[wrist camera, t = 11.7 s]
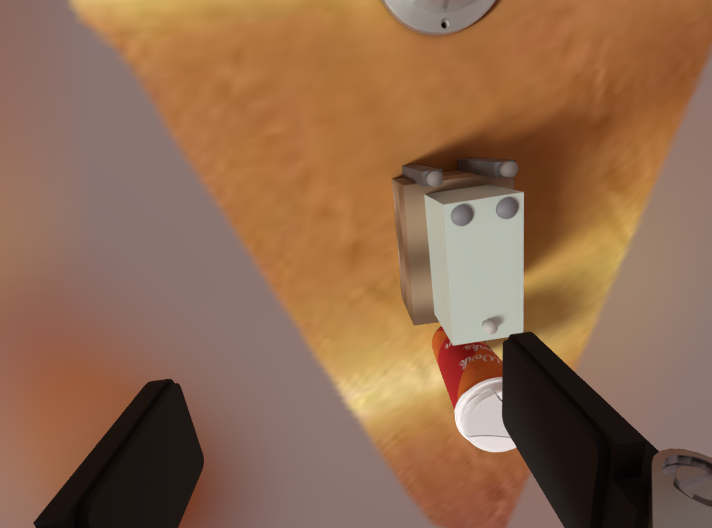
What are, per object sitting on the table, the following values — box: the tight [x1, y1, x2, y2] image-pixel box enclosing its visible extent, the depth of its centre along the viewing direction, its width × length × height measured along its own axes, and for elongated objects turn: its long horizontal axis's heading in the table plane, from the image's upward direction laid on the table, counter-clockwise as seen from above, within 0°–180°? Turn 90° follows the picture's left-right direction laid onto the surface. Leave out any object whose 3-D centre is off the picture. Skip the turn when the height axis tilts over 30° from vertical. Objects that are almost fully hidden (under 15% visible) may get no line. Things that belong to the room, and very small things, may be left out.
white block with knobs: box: [424, 184, 524, 346], centre depth 30 cm, size 12×6×7 cm, turn 8°
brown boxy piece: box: [392, 157, 518, 325], centre depth 35 cm, size 15×10×10 cm, turn 7°
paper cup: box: [432, 326, 516, 452], centre depth 38 cm, size 8×8×14 cm
